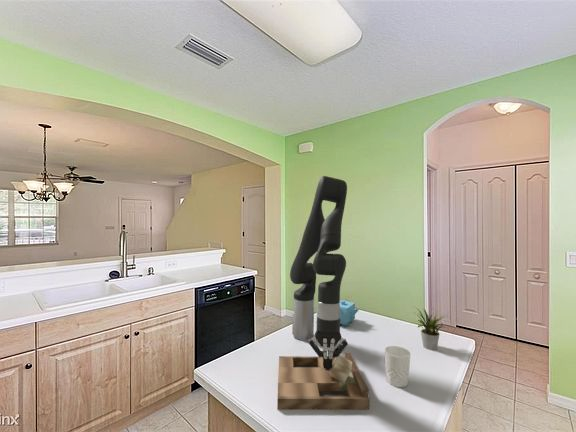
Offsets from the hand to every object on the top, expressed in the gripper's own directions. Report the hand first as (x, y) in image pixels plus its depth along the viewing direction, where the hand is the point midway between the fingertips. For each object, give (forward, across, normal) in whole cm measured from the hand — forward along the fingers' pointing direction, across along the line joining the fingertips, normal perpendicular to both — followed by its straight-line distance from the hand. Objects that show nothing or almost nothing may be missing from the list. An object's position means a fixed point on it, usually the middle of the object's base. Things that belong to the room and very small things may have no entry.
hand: (327, 369), depth 91 cm
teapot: (+4, -16, -55) cm, 57 cm away
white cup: (+5, -24, -2) cm, 24 cm away
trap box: (+5, +3, -1) cm, 6 cm away
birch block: (+1, -3, +1) cm, 4 cm away
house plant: (+4, -46, -28) cm, 54 cm away
